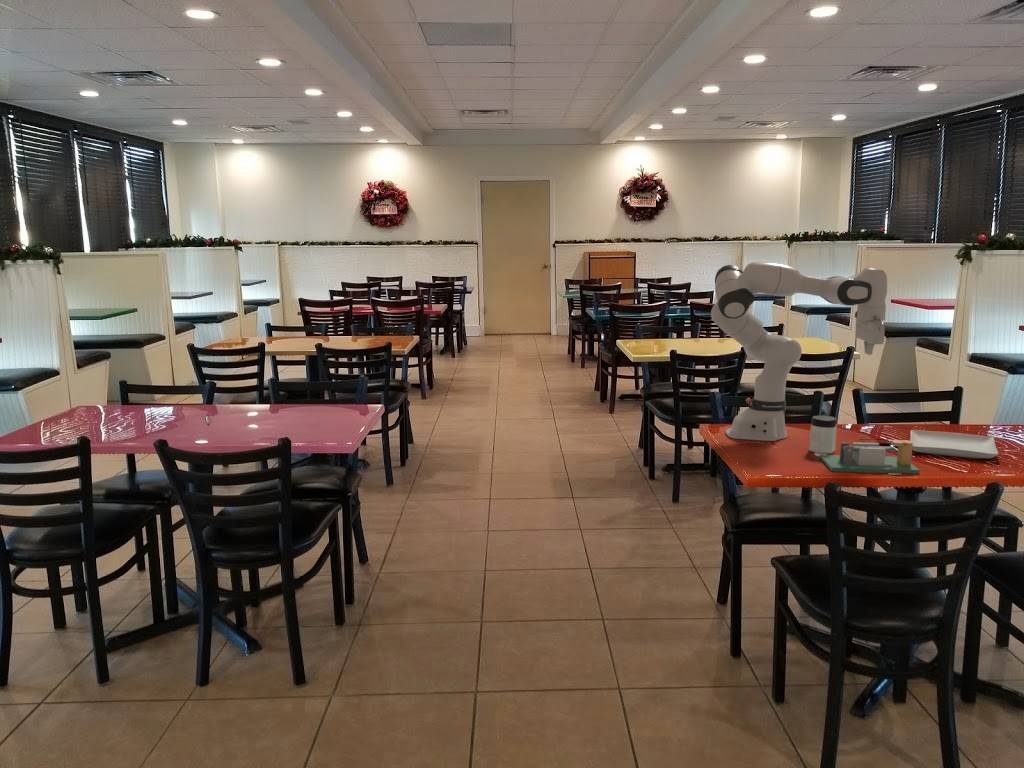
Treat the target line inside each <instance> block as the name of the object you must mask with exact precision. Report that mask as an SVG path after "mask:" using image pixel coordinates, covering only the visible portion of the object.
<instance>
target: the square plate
mask: <svg viewBox="0 0 1024 768" xmlns="http://www.w3.org/2000/svg"><path fill="white" fill-rule="evenodd" d="M909 434H910V438H909V441H910V442H912V443H913V445H912V452H913V451H914V452H917V453H923V454H928V455H929V454H930V455H937V456H949V457H957V458H958V457H959V458H968V459H979V460H980V459H992V458H995V457H997V456H998V455H999V450H998V449H997V446H996V441H995V437H994V436H991V435H990V436H988V435H979V434H969V433H962V432H961V433H960V432H949V431H937V430H936V431H933V430H919V429H912V430H910V433H909Z"/></svg>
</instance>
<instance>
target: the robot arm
mask: <svg viewBox="0 0 1024 768" xmlns="http://www.w3.org/2000/svg"><path fill="white" fill-rule="evenodd" d="M714 285H715V286H714V287H715V290H714V292H715V296H716V297H715V298H716V302H715V304H714V305H713V306H712V308H711V311H710V317H711V319H712V321H713V322H714V323H715V325H717V326H718V328H719V329H720V330H722V332H724V333H725V334H726V335H728V336H729V337H730V338H732V339H733V340H735V342H738V344H739V345H741V346H742V348H743V349H744V352H745V354H746V356H748V357H750V358H751V359H753V360H755V361H757V362H762V363H764V366H763V369H762V371H761V373H760V374H758V375H757V376H756V378H755V380H754V393H753V394H754V397H753V398H752V399H751V398H750V397H747V398H746V399H745V402H746V404H748V407H747V409H745V410H743V411H741V413H739V414H736V416H735V417H734V418H733V421H732V423H731V427H729V428H726V430H725V435H726V436H728V437H729V438H731V439H736V440H752V441H765V442H776V441H777V440H782V439H785V438H787V437H788V434H787V430H786V421H785V414H786V410H787V409H786V408H787V401H786V386H787V379H788V376H789V374H790V371H791V369H792V367H793V366H794V365H795V364H797V363H798V362H799V360H800V359H801V357H802V346H801V344H800V343H799V342H798V341H797V340H795V339H793V338H791V337H789V336H786V335H779V334H774V333H773V332H772V333H771V332H769V331H767V330H766V329H765V328H764V325H763V322H762V321H761V320H760V319H758V318H757V317H756V316H754V314H752V313H751V312H749V308H750V306H751V305H752V304H753V303H754V302H755V295H756V294H763V295H764V294H765V295H769V296H776V297H792V296H794V295H795V294H804V295H805V294H806V295H811V296H815V297H816V296H817V297H819V298H822V299H823V300H825V301H826V302H827V303H829V304H833V305H840V306H846V307H847V306H848V307H852V306H856V305H857V306H858V307H857V310H856V311H855V312H854V318H855V337H856V338H857V339H859V340H862V341H863V347H864V354H865V355H869V356H870V355H873V351H874V347H875V345H883V344H884V343H885V323H884V322H883V321H885V320H886V312H887V311H886V309H887V305H886V297H887V294H888V276H887V273H886V272H885V271H884V270H882V269H878V268H872V267H865V268H863V269H862V270H860V271H859V272H857V273H855V274H853V275H851V276H847V277H845V276H841V275H836V276H834V275H833V276H830V277H827V278H820V277H814V276H809V275H808V276H807V275H804V274H801V272H800V270H798V269H797V268H795V267H792V266H789V265H787V264H786V265H785V264H782V263H776V262H769V261H767V262H766V261H754V262H750V263H748V264H747V265H746V266H745V267H744V269H743V270H742V269H741V268H740V267H739V266H737V265H735V264H727V265H724V266H721V268H719V269H718V270H717V272H716V273H715V277H714Z"/></svg>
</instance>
